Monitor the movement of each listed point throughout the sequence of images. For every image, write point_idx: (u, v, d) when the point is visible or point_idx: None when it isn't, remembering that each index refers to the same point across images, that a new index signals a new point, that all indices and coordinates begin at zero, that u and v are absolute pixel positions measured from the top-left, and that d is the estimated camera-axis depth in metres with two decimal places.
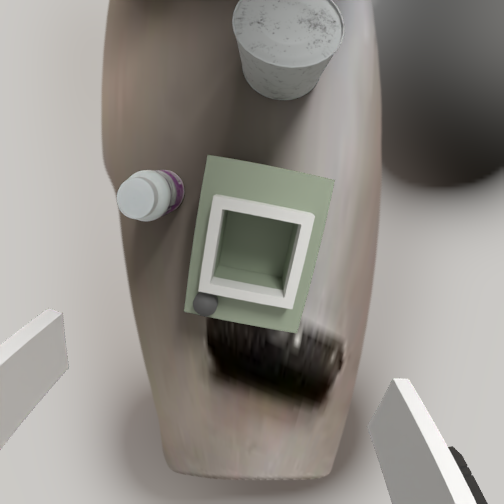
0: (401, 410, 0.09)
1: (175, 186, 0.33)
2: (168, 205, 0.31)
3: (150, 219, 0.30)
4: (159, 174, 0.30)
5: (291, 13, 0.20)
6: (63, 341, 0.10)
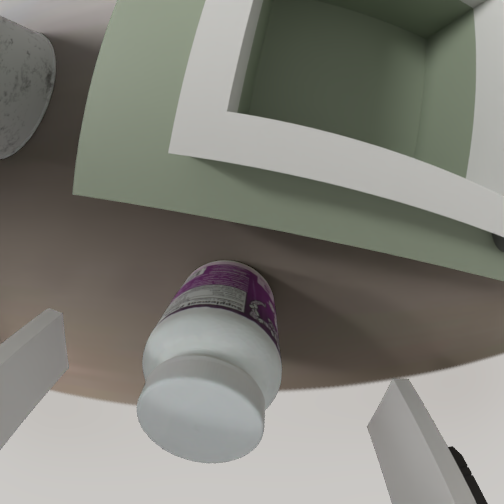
0: (401, 409, 0.09)
1: (198, 286, 0.13)
2: (238, 315, 0.11)
3: (275, 369, 0.10)
4: (151, 333, 0.11)
5: None
6: (63, 341, 0.10)
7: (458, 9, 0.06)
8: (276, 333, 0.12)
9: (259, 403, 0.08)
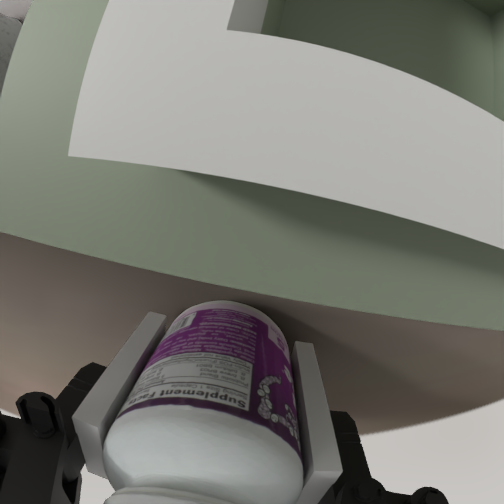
0: (295, 369, 0.11)
1: (181, 351, 0.08)
2: (240, 420, 0.06)
3: (296, 487, 0.06)
4: (110, 430, 0.06)
5: None
6: None
7: None
8: (296, 422, 0.08)
9: None
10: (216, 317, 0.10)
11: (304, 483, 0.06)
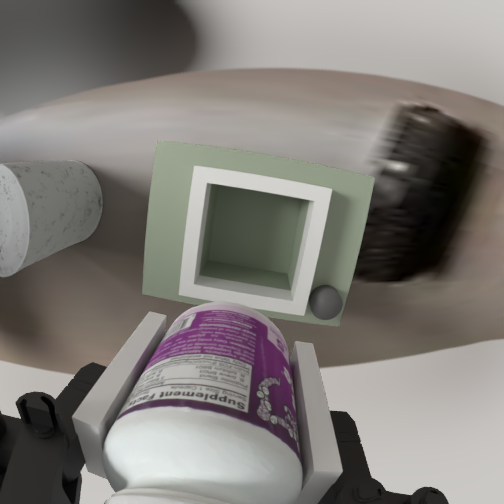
0: (295, 369, 0.11)
1: (181, 353, 0.08)
2: (239, 422, 0.06)
3: (295, 488, 0.06)
4: (110, 431, 0.06)
5: None
6: None
7: None
8: (295, 423, 0.08)
9: None
10: (216, 318, 0.10)
11: (304, 483, 0.06)
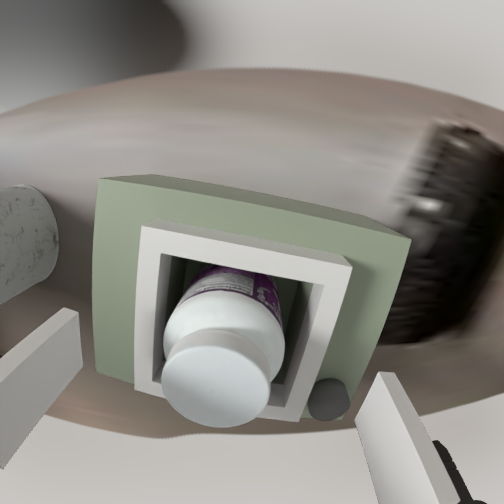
0: (386, 402, 0.09)
1: (212, 274, 0.15)
2: (248, 298, 0.13)
3: (279, 344, 0.12)
4: (172, 314, 0.13)
5: None
6: (78, 340, 0.11)
7: None
8: (279, 315, 0.14)
9: (266, 370, 0.10)
10: None
11: None
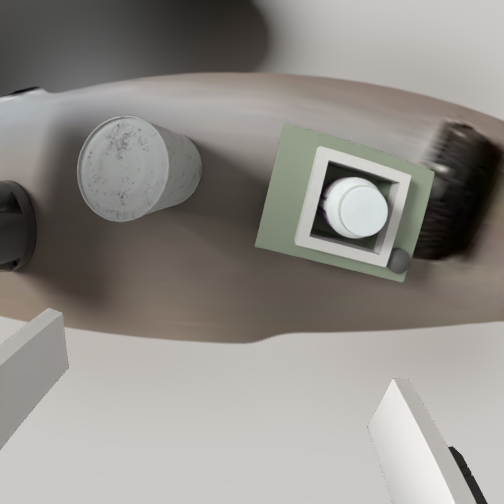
0: (401, 410, 0.09)
1: None
2: None
3: None
4: (333, 187, 0.26)
5: (112, 166, 0.25)
6: (63, 341, 0.10)
7: (387, 180, 0.28)
8: None
9: (385, 203, 0.23)
10: None
11: None
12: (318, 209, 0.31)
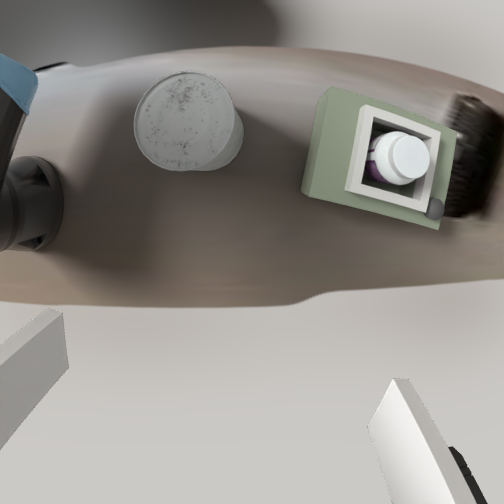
0: (401, 409, 0.09)
1: None
2: None
3: None
4: (380, 139, 0.27)
5: (173, 117, 0.26)
6: (63, 341, 0.10)
7: None
8: None
9: None
10: None
11: None
12: None
